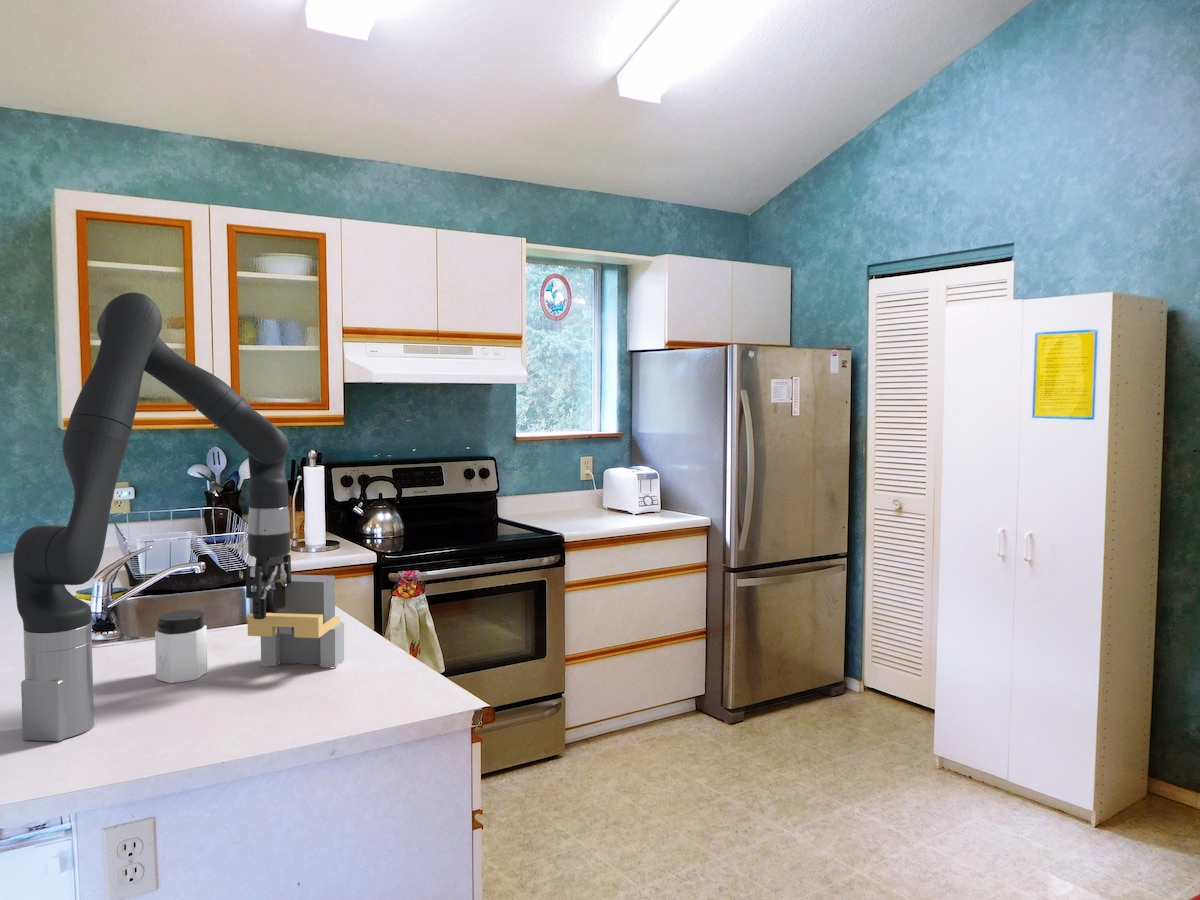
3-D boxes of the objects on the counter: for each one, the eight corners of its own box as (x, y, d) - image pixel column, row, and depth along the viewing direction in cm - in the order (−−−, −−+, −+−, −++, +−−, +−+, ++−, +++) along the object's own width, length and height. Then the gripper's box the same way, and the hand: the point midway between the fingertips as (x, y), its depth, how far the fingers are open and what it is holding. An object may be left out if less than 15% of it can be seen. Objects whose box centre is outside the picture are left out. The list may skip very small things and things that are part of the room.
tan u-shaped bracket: (318, 638, 163) (318, 617, 162) (247, 635, 164) (247, 615, 163) (340, 622, 174) (339, 603, 174) (273, 620, 175) (273, 601, 174)
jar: (147, 678, 163) (146, 616, 162) (186, 666, 170) (185, 607, 169) (176, 686, 158) (175, 623, 157) (215, 674, 165) (214, 613, 164)
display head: (324, 678, 164) (323, 591, 162) (247, 675, 164) (246, 589, 163) (349, 656, 177) (348, 576, 176) (278, 654, 178) (277, 574, 177)
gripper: (271, 536, 156) (272, 623, 157) (303, 525, 170) (303, 605, 171) (231, 535, 156) (232, 622, 157) (266, 524, 170) (267, 603, 171)
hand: (269, 613), depth 164 cm, fingers open, 8 cm apart
